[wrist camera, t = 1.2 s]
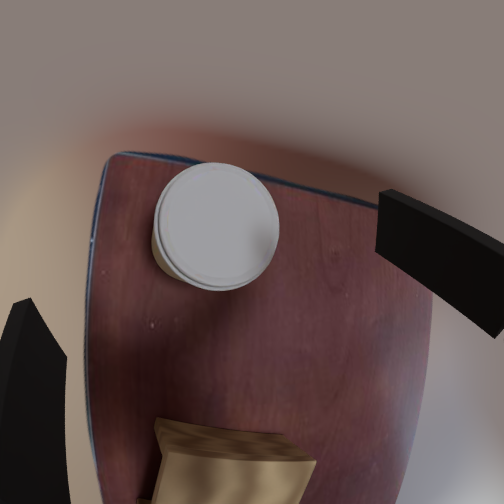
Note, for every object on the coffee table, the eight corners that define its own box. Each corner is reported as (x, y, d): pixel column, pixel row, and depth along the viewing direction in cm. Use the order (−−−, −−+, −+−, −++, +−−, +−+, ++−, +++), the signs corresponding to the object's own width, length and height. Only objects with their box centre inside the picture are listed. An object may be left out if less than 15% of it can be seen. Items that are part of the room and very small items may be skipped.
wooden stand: (135, 505, 26) (144, 546, 18) (156, 416, 29) (168, 451, 21) (251, 513, 31) (277, 545, 24) (281, 434, 34) (317, 460, 27)
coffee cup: (234, 210, 35) (288, 178, 24) (223, 294, 33) (275, 299, 22) (153, 192, 31) (171, 144, 20) (136, 280, 30) (143, 279, 19)
